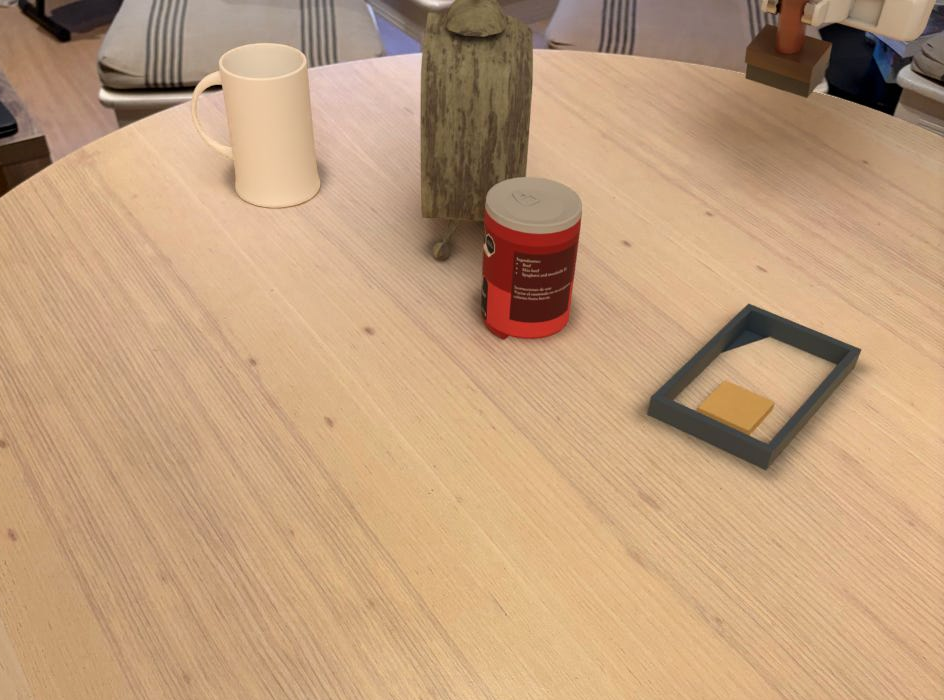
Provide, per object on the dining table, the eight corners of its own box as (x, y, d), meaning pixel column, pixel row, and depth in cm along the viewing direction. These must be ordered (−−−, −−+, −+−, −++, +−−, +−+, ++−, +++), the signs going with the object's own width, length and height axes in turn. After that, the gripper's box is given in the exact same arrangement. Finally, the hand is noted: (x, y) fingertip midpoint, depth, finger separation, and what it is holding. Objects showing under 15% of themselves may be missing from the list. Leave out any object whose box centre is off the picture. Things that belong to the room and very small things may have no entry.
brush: (762, 56, 100) (779, -77, 89) (826, 76, 97) (852, -59, 86) (742, 80, 99) (757, -52, 88) (806, 101, 96) (830, -32, 85)
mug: (193, 200, 101) (168, 72, 92) (219, 159, 106) (198, 34, 97) (308, 212, 100) (296, 84, 91) (329, 170, 106) (319, 45, 96)
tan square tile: (722, 389, 83) (725, 379, 82) (772, 411, 81) (775, 401, 81) (695, 417, 81) (697, 406, 80) (745, 440, 79) (749, 430, 78)
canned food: (510, 284, 93) (518, 166, 85) (585, 315, 90) (601, 196, 82) (462, 323, 89) (465, 203, 81) (538, 357, 86) (550, 236, 78)
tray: (740, 330, 90) (748, 302, 87) (851, 377, 86) (862, 349, 84) (644, 425, 81) (650, 396, 79) (762, 480, 77) (772, 452, 75)
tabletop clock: (430, 191, 103) (430, -103, 84) (519, 195, 103) (540, -98, 84) (421, 270, 94) (419, -39, 75) (518, 274, 94) (542, -34, 75)
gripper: (764, -97, 100) (695, -59, 93) (968, -46, 92) (910, -1, 85) (748, -24, 104) (681, 17, 97) (940, 30, 97) (883, 79, 90)
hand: (790, 9), depth 91 cm, fingers closed on brush, 2 cm apart
